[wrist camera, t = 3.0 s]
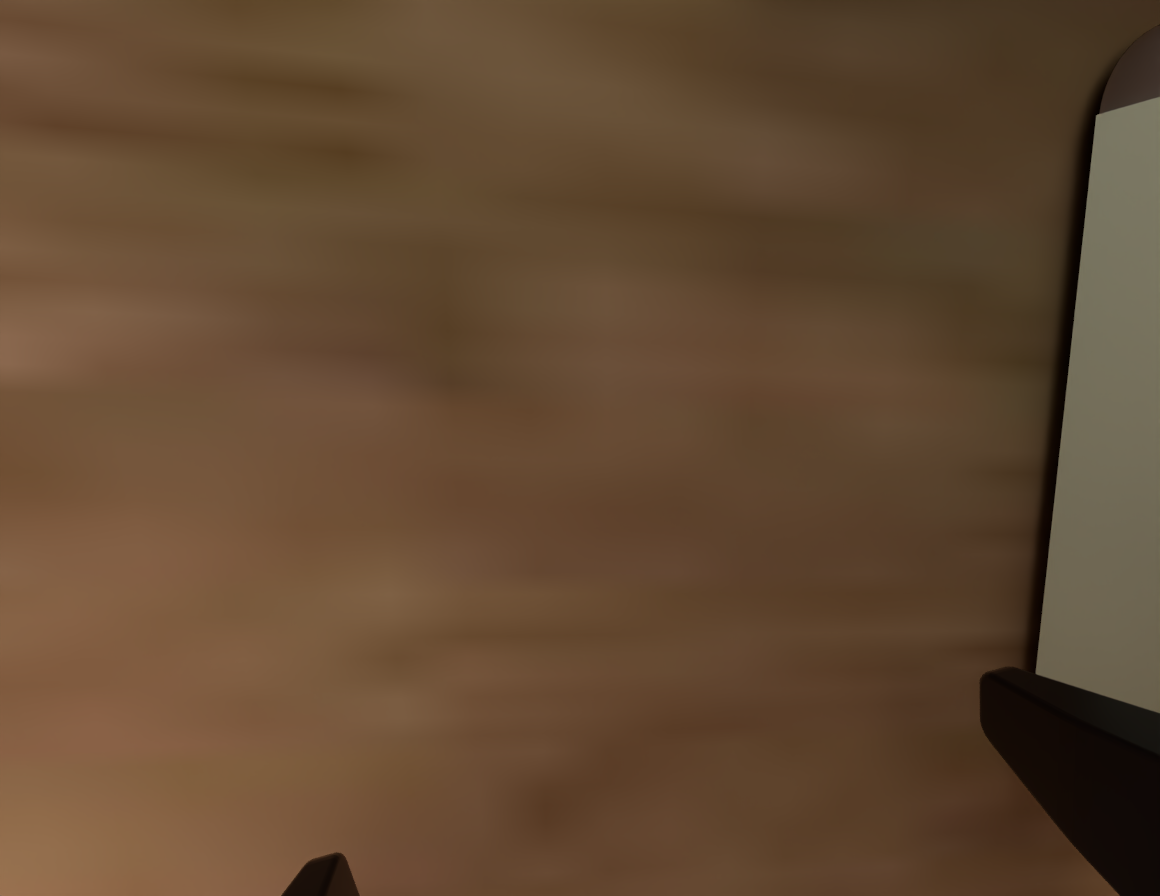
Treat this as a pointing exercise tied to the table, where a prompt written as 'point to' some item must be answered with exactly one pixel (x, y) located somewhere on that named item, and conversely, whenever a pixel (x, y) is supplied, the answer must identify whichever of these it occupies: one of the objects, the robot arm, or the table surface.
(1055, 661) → the stool leg
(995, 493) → the table surface
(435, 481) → the table surface
